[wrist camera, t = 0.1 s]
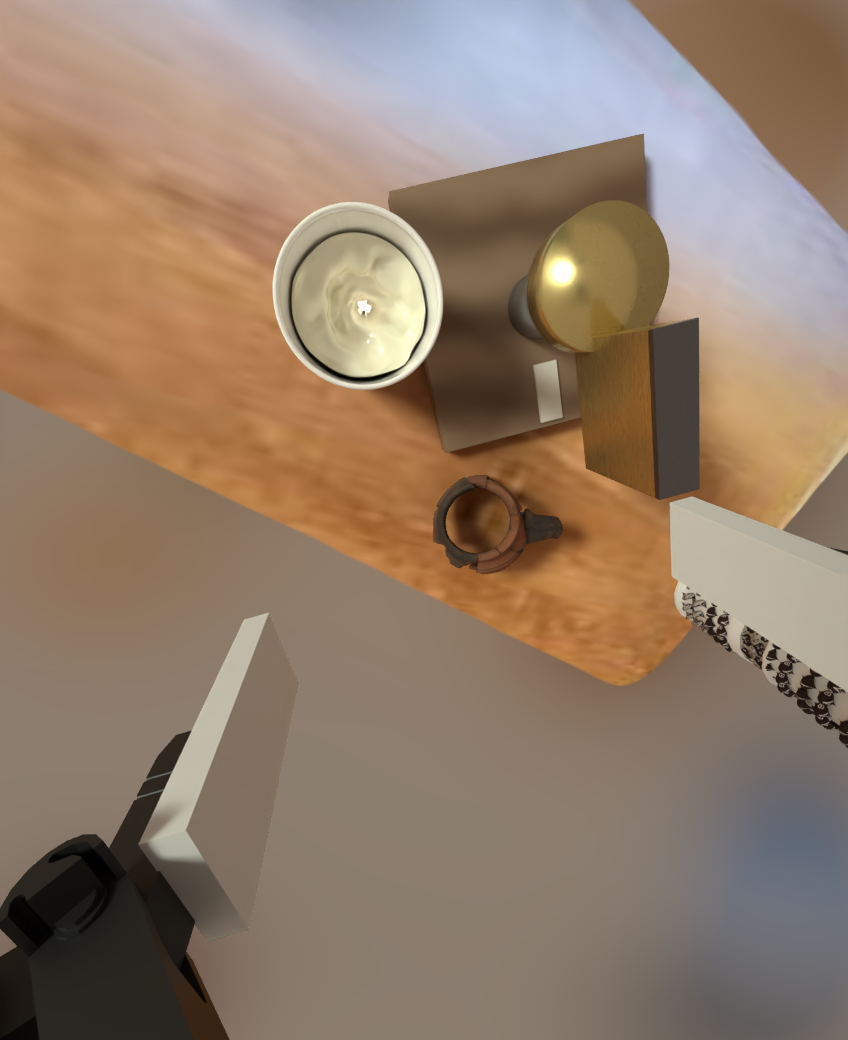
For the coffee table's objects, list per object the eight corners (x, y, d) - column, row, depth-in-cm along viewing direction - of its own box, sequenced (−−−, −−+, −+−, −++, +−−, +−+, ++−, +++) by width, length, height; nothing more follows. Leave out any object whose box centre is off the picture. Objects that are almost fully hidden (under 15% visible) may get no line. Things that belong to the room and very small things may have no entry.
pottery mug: (445, 576, 46) (432, 579, 37) (436, 489, 47) (422, 474, 39) (562, 565, 43) (575, 566, 35) (549, 474, 45) (559, 455, 36)
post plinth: (388, 201, 33) (398, 135, 24) (628, 146, 34) (727, 62, 25) (442, 449, 40) (466, 472, 31) (641, 397, 41) (722, 404, 32)
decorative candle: (735, 618, 52) (1039, 818, 29) (665, 627, 51) (922, 842, 28) (751, 549, 49) (1105, 710, 26) (677, 557, 48) (976, 732, 25)
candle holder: (439, 306, 36) (475, 275, 25) (380, 407, 38) (390, 420, 27) (335, 230, 34) (324, 156, 22) (278, 343, 36) (241, 328, 24)
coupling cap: (517, 231, 26) (585, 171, 18) (640, 202, 27) (757, 131, 19) (550, 478, 32) (612, 512, 24) (651, 450, 32) (745, 476, 24)
